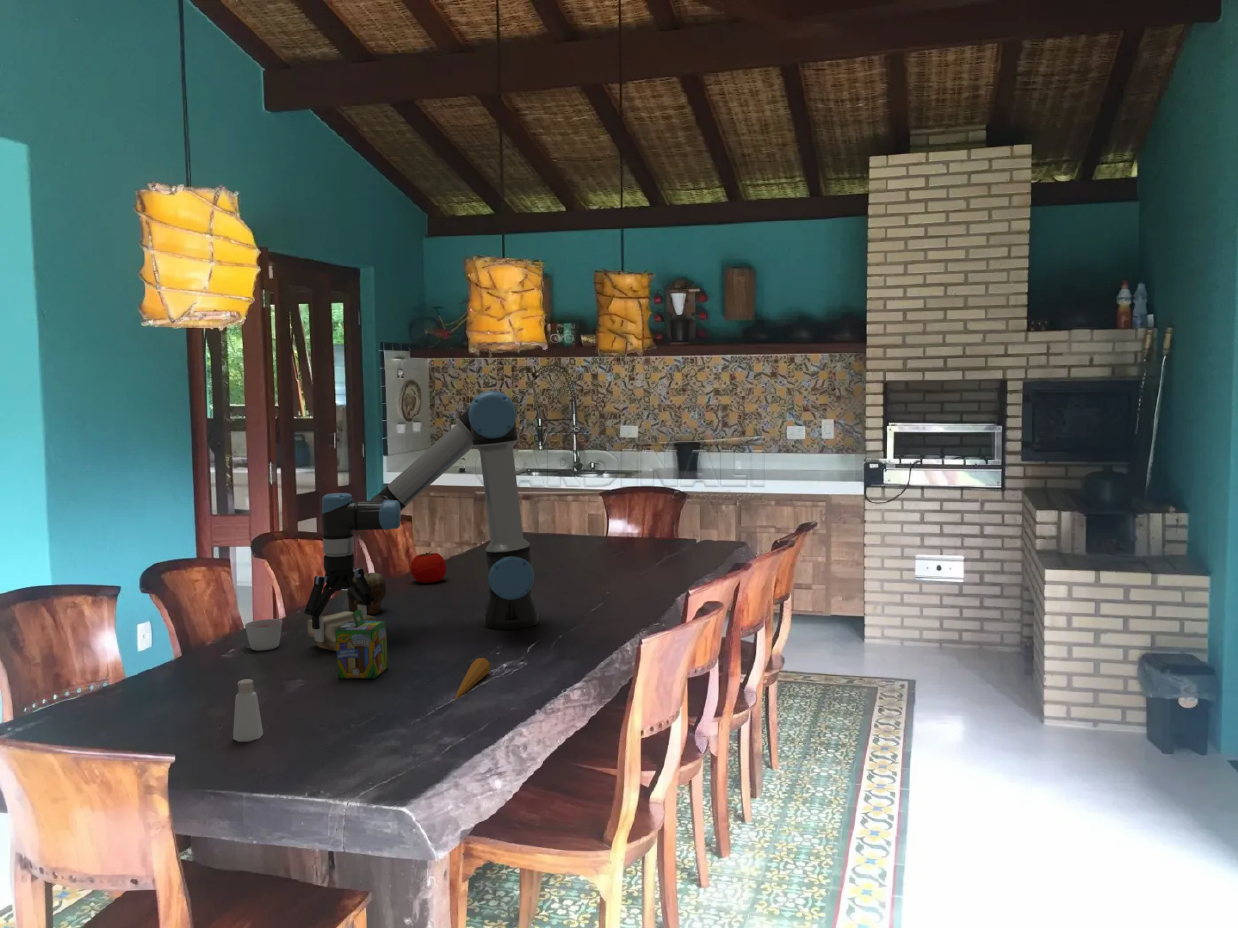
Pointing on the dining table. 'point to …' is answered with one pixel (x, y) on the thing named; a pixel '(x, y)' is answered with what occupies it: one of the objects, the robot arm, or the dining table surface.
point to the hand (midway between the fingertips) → (341, 635)
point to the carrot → (474, 675)
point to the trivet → (327, 645)
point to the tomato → (428, 567)
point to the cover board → (336, 623)
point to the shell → (378, 590)
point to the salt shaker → (247, 713)
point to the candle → (264, 634)
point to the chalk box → (361, 648)
